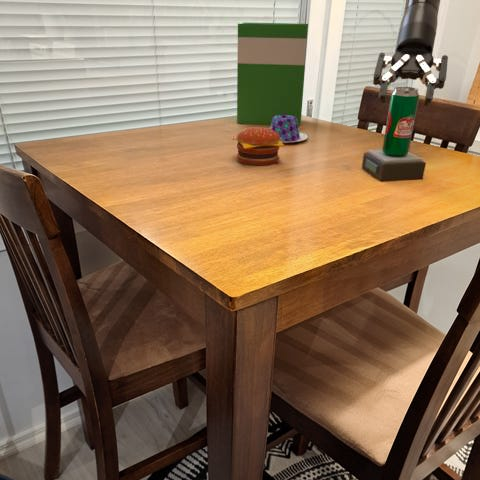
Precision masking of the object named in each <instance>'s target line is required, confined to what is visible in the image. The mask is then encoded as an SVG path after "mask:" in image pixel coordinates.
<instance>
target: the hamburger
mask: <svg viewBox="0 0 480 480" xmlns="http://www.w3.org/2000/svg"><path fill="white" fill-rule="evenodd" d="M280 139H281V138H280V135H279V134H278V133H276V132H275V131H273V130H271V129H270V128H268V127H262V126H253V127H248V128H247V127H246V128H245V129H243V130H242V131H240V132H239V133H238V134H237V135H236V137H233V138H232V140H233V141H234V140H235V141H236V142H237V144H236V148H237V154H236V159H237V161H238V162H240V163H242V164H245V165H250V166H266V165H273V164H275V163H277V162H278V161H279V159H280V156H279V149H280V147H283V148H284V147H285V144H284V143H282V142H281V141H280Z"/></svg>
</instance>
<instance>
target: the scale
mask: <svg viewBox="0 0 480 480" xmlns="http://www.w3.org/2000/svg"><path fill="white" fill-rule="evenodd" d="M362 157H363V158H362V164H361V169H362V170H363V171H364V172H366V173H368V174H370V175H371V176H372V177H374V178H375V179H376V180H378V181H380V182H393V181H394V182H395V181H410V180H411V181H412V180H423V179H424V174H425V169H426V165H427V162H425V161H424V160H423V158H422V157H420V156H418V155H416V154H414V153H413V152H410V151H409V152H408V153H407V154H406V155H405V156H403V157H392V156H387V155H385V154H384V153H383V151H382V149H370V150H368V151H367V152H363V156H362Z"/></svg>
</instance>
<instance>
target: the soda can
mask: <svg viewBox="0 0 480 480" xmlns="http://www.w3.org/2000/svg"><path fill="white" fill-rule="evenodd" d="M419 99H420V94H419V88H418V87H413V86H412V87H411V86H396V87H394V89H393V91H392V92H391V95H390V99H389V100H390V101H389V106H388V113H387V118H386V125H385V131H384V136H383V141H382V142H383V144H382V149H381V150H382V151H383V153H384V154H385V155H387V156H392V157H403V156H405V155H406V154H407V153H408V152H410V146H411V143H412V136H413V131H414V125H415V120H416V115H417V109H418V105H419Z"/></svg>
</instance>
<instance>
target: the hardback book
mask: <svg viewBox="0 0 480 480" xmlns="http://www.w3.org/2000/svg"><path fill="white" fill-rule="evenodd" d="M308 30H309V23H294V22H293V23H291V22H290V23H289V22H247V21H245V22H237V68H236V70H237V71H236V72H237V73H236V75H237V79H236V80H237V83H236V84H237V85H236V96H237V97H236V124H245V125H246V124H247V125H249V124H250V125H270V126H271V124H272V120H273V118H274V116H278V115H289V116H294V117H296V118H297V121H298V127H301V123H302V115H303V114H302V113H303V99H304V97H303V96H304V86H305V74H306V73H305V72H306V59H307V58H306V57H307V46H308V33H309V31H308Z"/></svg>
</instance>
